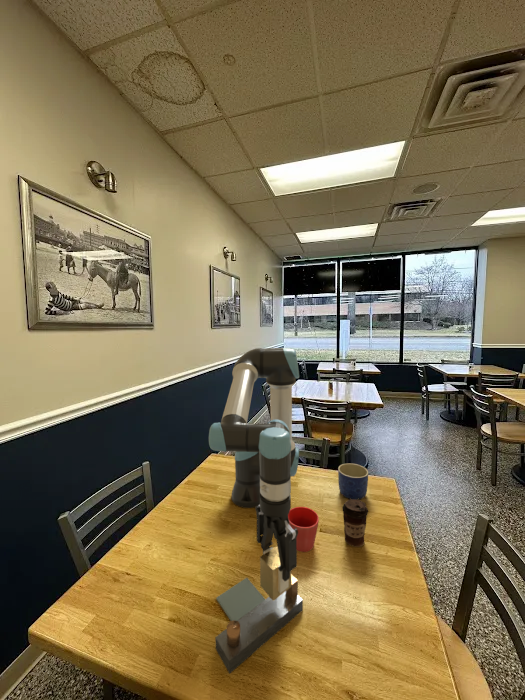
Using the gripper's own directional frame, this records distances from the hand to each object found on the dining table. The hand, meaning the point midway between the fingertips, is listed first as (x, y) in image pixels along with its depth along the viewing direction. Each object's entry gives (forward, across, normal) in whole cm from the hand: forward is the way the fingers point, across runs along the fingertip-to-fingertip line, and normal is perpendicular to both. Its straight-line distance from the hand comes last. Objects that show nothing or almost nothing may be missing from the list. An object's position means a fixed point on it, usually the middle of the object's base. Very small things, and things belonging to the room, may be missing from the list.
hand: (275, 580), depth 73 cm
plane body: (+9, 0, -5) cm, 11 cm away
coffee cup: (+10, -2, +37) cm, 39 cm away
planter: (+11, -19, +60) cm, 64 cm away
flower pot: (+10, -13, +23) cm, 28 cm away
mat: (+10, -8, -5) cm, 13 cm away
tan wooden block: (+2, 0, 0) cm, 2 cm away
